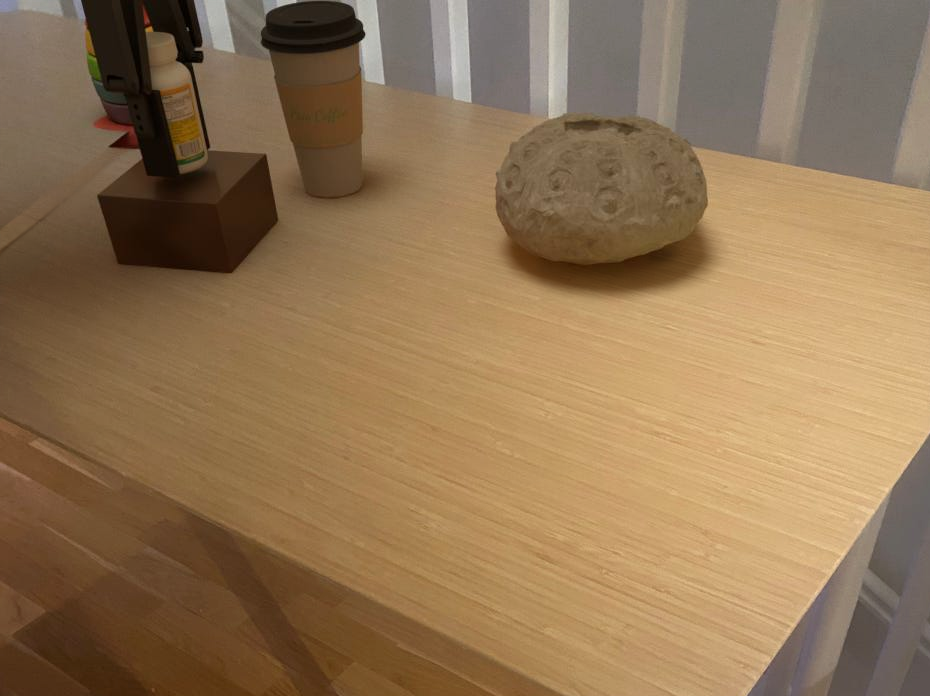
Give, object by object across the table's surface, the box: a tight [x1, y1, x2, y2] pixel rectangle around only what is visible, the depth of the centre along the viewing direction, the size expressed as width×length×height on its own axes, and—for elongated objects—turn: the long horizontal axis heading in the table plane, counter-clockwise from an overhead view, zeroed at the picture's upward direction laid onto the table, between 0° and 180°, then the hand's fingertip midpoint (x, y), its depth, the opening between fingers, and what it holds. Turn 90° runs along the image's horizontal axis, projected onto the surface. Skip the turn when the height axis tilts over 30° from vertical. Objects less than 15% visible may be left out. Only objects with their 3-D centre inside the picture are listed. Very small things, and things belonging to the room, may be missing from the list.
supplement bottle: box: [146, 32, 208, 174], centre depth 82 cm, size 5×5×10 cm
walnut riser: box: [96, 149, 279, 274], centre depth 88 cm, size 11×11×6 cm
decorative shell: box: [494, 112, 709, 266], centre depth 83 cm, size 18×18×10 cm
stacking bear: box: [84, 3, 153, 149], centre depth 104 cm, size 11×10×18 cm
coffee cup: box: [260, 0, 366, 198], centre depth 93 cm, size 9×9×15 cm
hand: (179, 160), depth 85 cm, fingers open, 5 cm apart
